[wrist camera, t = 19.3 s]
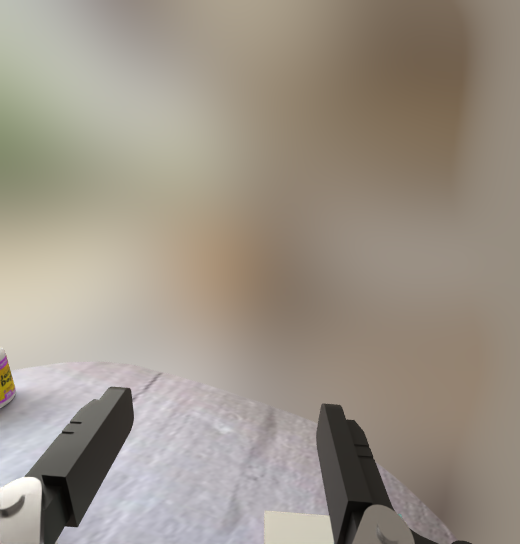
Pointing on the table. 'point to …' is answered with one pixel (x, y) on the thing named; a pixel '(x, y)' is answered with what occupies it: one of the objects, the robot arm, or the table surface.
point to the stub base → (297, 528)
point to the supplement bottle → (5, 380)
